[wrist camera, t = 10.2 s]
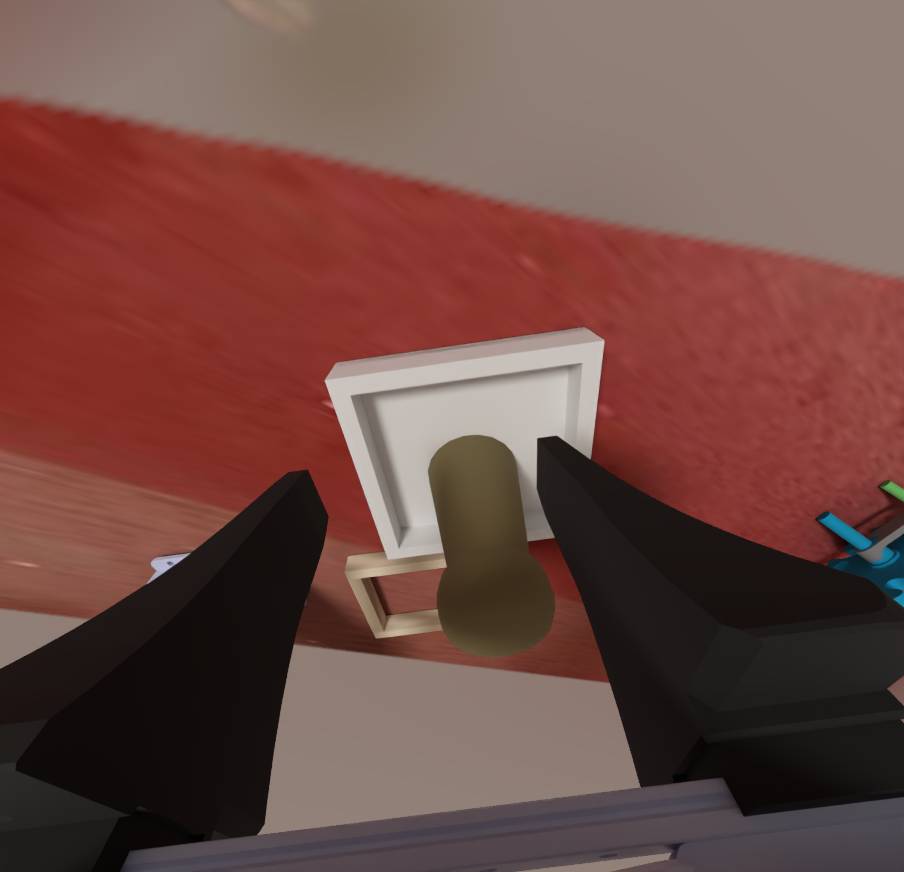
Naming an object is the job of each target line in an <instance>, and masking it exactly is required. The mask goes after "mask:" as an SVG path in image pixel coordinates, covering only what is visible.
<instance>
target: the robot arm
mask: <svg viewBox="0 0 904 872" xmlns="http://www.w3.org/2000/svg"><path fill="white" fill-rule="evenodd" d="M536 489H537V492H538V495H539V498H540V502H541V505H542V508H543V511H544V514H545V517H546V519H547V521H548V524H549V526H550V528H551V530H552V533H553V535H554V537H555V539H556V541H557V543H558V546H559V548H560V550H561V552H562V554H563V556H564V559H565V561H566V563H567V565H568V567H569V569H570V571H571V574H572V576H573V578H574V580H575V583H576V585H577V588H578V590H579V592H580V595H581V598H582V601H583V603H584V606H585V609H586V612H587V615H588V618H589V621H590V624H591V626H592V629H593V632H594V635H595V638H596V641H597V644H598V647H599V650H600V654H601V657H602V660H603V663H604V666H605V669H606V672H607V675H608V678H609V682H610V685H611V688H612V691H613V694H614V698H615V701H616V704H617V707H618V710H619V714H620V717H621V721H622V724H623V727H624V731H625V734H626V738H627V741H628V744H629V748H630V751H631V754H632V758H633V762H634V765H635V769H636V772H637V776H638V780H639V783H640V786H641V788H634V789H626V790H619V791H610V792H602V793H594V794H586V795H578V796H570V797H562V798H554V799H545V800H537V801H530V802H521V803H513V804H505V805H497V806H489V807H481V808H473V809H465V810H457V811H449V812H440V813H432V814H425V815H417V816H408V817H400V818H392V819H385V820H376V821H368V822H360V823H353V824H344V825H336V826H328V827H320V828H311V829H304V830H295V831H287V832H279V833H271V834H263V835H257V834H258V833H259V832H260V830H261V829H262V827H263V826H264V824H265V816H266V807H267V799H268V792H269V784H270V776H271V769H272V761H273V754H274V747H275V741H276V735H277V729H278V723H279V716H280V710H281V705H282V699H283V694H284V689H285V684H286V678H287V673H288V668H289V663H290V659H291V654H292V650H293V645H294V641H295V636H296V632H297V628H298V625H299V621H300V618H301V614H302V611H303V608H304V605H305V604H306V602H307V596H308V593H309V590H310V587H311V584H312V581H313V578H314V575H315V572H316V568H317V565H318V562H319V559H320V556H321V553H322V549H323V546H324V541H325V536H326V530H327V524H328V517H329V516H328V514H327V512H326V510H325V507H324V505H323V503H322V501H321V498H320V496H319V494H318V491H317V489H316V487H315V485H314V482H313V480H312V478H311V476H310V473H309V471H308V470H301V471H294V472H288V473H287V474H286V475H284V476H283V477H282V478H280V479H279V480H278V481H277V482H276V483H274V484H273V485H272V486H271V487H270V488H269V489H267V490H266V491H265V492H264V493H263V494H262V495H261V496H259V497H258V498H257V499H256V500H255V501H254V502H252V503H251V504H250V505H249V506H248V507H247V508H246V509H244V510H243V511H242V512H241V513H240V514H239V515H237V516H236V517H235V518H234V519H233V520H232V521H230V522H229V523H228V524H227V525H225V526H224V527H223V528H222V529H221V530H219V531H218V532H217V533H216V534H214V535H213V536H212V537H211V538H209V539H208V540H207V541H206V542H204V543H203V544H202V545H201V546H200V547H198V548H197V549H196V550H194V551H193V552H192V553H186V554H179V555H172V556H164V557H157V558H155V559H154V560H153V561H152V562H151V565H152V566H153V567H154V569H155V570H156V572H155V574H154V575H153V576H152V577H151V579H150V580H149V581H148V583H147V584H146V585H145V586H143V587H141V588H140V589H138V590H137V591H135V592H134V593H132V594H130V595H129V596H127V597H126V598H124V599H123V600H121V601H119V602H118V603H116V604H115V605H113V606H112V607H110V608H108V609H107V610H105V611H104V612H102V613H100V614H99V615H97V616H95V617H94V618H92V619H90V620H88V621H87V622H85V623H83V624H82V625H80V626H78V627H76V628H75V629H73V630H71V631H70V632H68V633H66V634H64V635H62V636H61V637H59V638H57V639H55V640H54V641H52V642H50V643H48V644H47V645H45V646H43V647H41V648H39V649H37V650H35V651H34V652H32V653H30V654H28V655H26V656H24V657H22V658H20V659H18V660H16V661H15V662H13V663H11V664H9V665H7V666H5V667H3V668H1V669H0V872H516V871H524V870H533V869H540V868H549V867H557V866H566V865H574V864H582V863H590V862H599V861H607V860H615V859H623V858H631V857H639V856H648V855H656V854H664V853H671V855H670V857H669V860H664V861H659V862H653V863H648V864H644V865H639V866H635V867H630V868H626V869H622V870H617V871H612V872H904V723H903V722H902V721H901V720H900V719H904V706H903V705H902V704H901V703H900V702H899V701H898V700H897V699H896V698H895V696H894V695H892V693H891V692H890V691H889V690H888V689H887V688H888V687H890V686H891V685H892V684H893V683H895V682H896V681H897V680H898V679H900V678H901V677H902V676H903V675H904V607H903V606H902V605H900V604H899V603H898V602H897V601H895V600H894V599H893V598H892V597H890V596H889V595H888V594H887V593H885V592H884V591H883V590H882V589H880V588H879V587H878V586H877V585H875V584H874V583H873V582H872V581H870V580H869V579H867V578H864V577H860V576H857V575H854V574H851V573H847V572H844V571H841V570H838V569H834V568H831V567H828V566H824V565H821V564H818V563H815V562H811V561H808V560H805V559H802V558H798V557H795V556H792V555H789V554H786V553H783V552H780V551H778V550H775V549H772V548H769V547H766V546H764V545H761V544H758V543H755V542H752V541H749V540H747V539H744V538H742V537H739V536H737V535H734V534H731V533H729V532H726V531H724V530H721V529H719V528H717V527H714V526H712V525H710V524H707V523H705V522H703V521H700V520H698V519H695V518H693V517H691V516H689V515H687V514H685V513H682V512H680V511H678V510H676V509H674V508H672V507H670V506H668V505H666V504H664V503H662V502H660V501H658V500H656V499H654V498H652V497H650V496H649V495H647V494H645V493H643V492H641V491H640V490H638V489H636V488H634V487H633V486H631V485H629V484H628V483H626V482H624V481H623V480H621V479H619V478H618V477H616V476H615V475H613V474H611V473H610V472H608V471H607V470H605V469H604V468H602V467H601V466H599V465H598V464H596V463H595V462H593V461H592V460H591V459H589V458H588V457H586V456H585V455H584V454H582V453H581V452H579V451H578V450H577V449H575V448H574V447H572V446H571V445H570V444H568V443H567V442H566V441H564V440H563V439H561V438H560V437H558V436H557V435H556V436H549V437H542V438H537V485H536Z"/></svg>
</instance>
